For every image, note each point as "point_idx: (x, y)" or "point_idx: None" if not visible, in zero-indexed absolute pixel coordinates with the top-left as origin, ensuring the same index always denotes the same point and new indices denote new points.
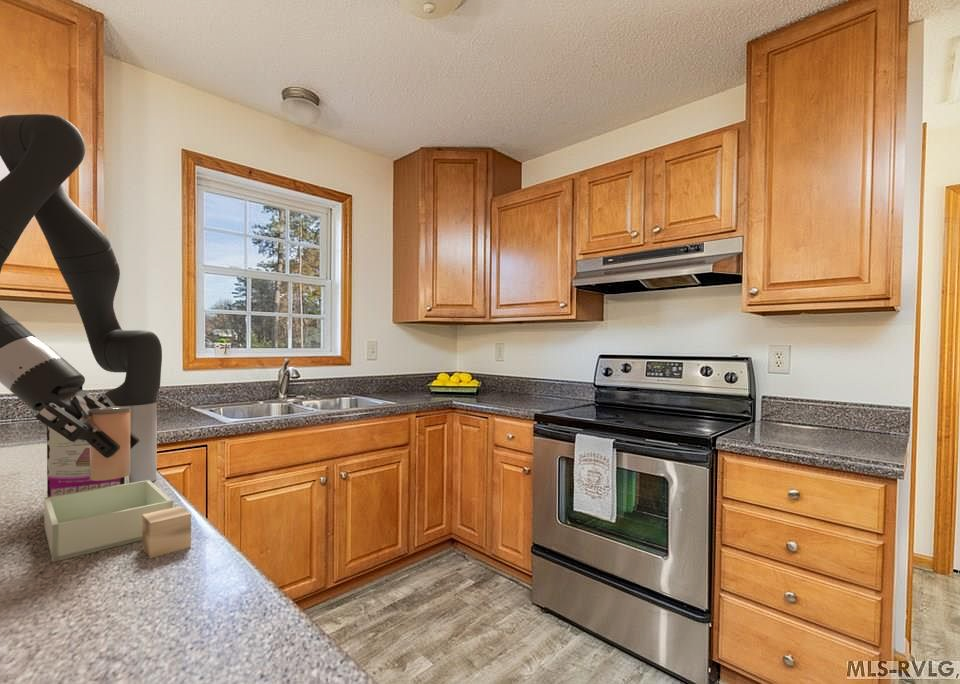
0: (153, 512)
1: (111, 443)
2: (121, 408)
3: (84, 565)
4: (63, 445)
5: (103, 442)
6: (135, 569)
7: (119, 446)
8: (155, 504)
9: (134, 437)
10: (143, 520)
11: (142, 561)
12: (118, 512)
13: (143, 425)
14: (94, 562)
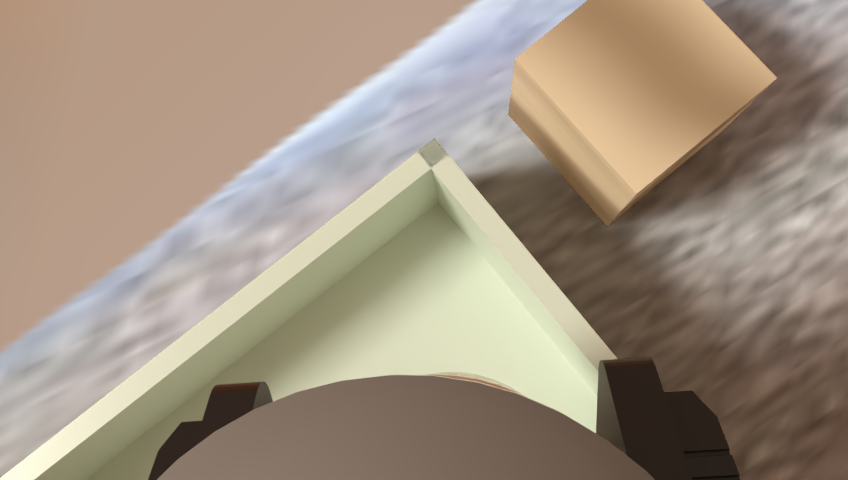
0: (609, 151)
1: (669, 418)
2: (511, 449)
3: (772, 367)
4: None
5: (736, 473)
6: (824, 133)
7: (611, 360)
8: (487, 203)
9: (240, 416)
10: (650, 183)
11: (750, 147)
12: (599, 340)
13: None
14: (745, 343)
